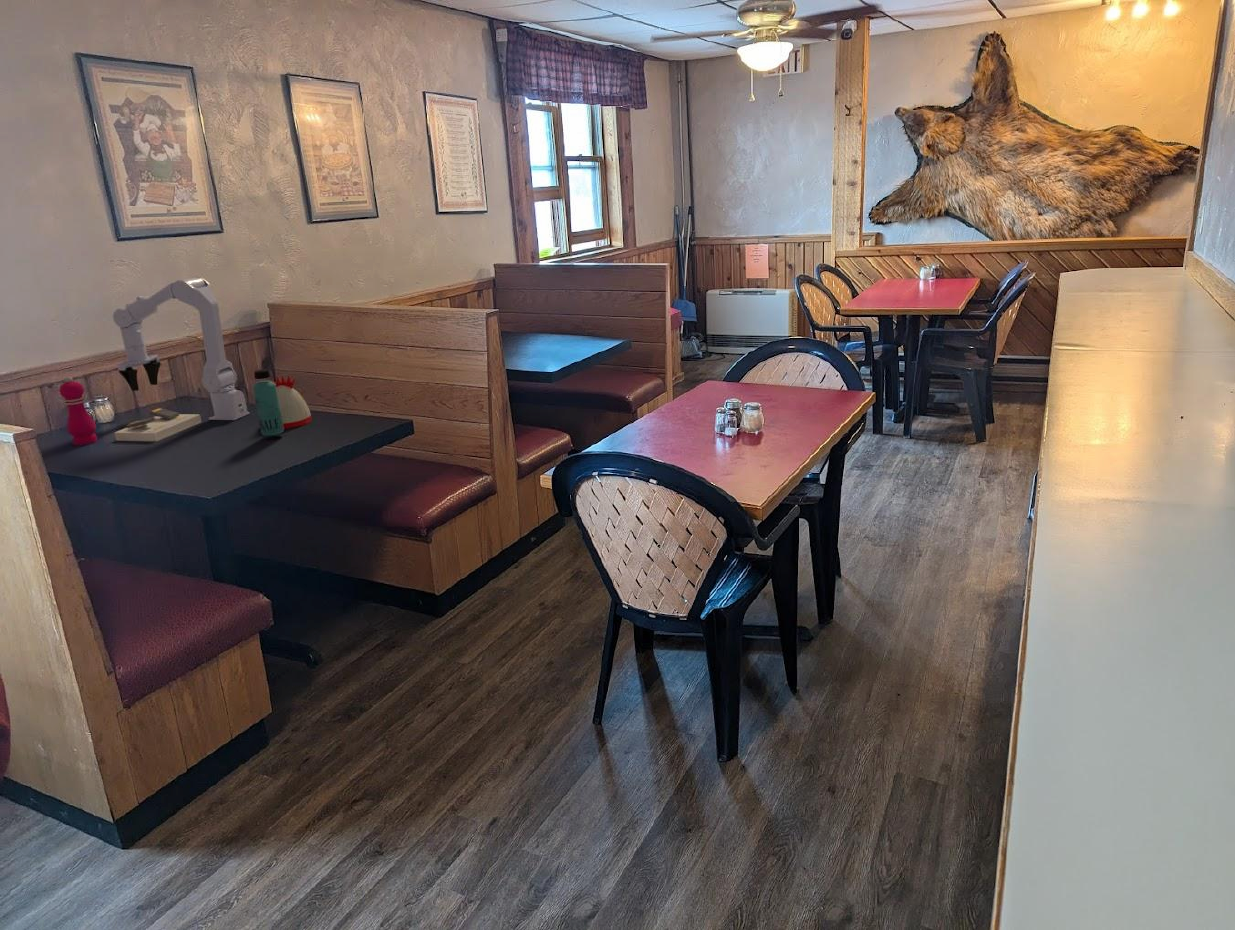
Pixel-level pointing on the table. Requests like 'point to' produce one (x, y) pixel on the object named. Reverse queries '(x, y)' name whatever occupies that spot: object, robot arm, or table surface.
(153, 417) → the block
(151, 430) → the switch console
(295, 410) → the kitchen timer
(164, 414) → the block
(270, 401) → the beverage bottle
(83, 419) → the pepper mill
